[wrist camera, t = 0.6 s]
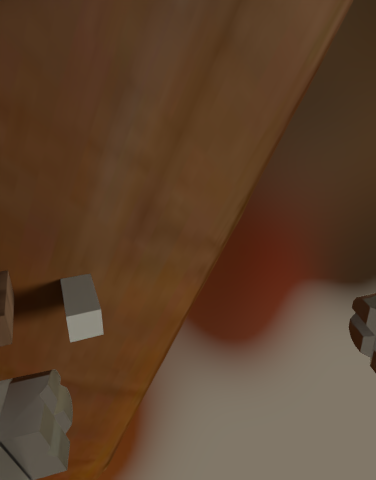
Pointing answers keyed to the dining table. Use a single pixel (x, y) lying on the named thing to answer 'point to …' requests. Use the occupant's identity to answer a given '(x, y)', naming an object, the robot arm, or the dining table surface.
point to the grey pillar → (81, 307)
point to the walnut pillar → (6, 309)
